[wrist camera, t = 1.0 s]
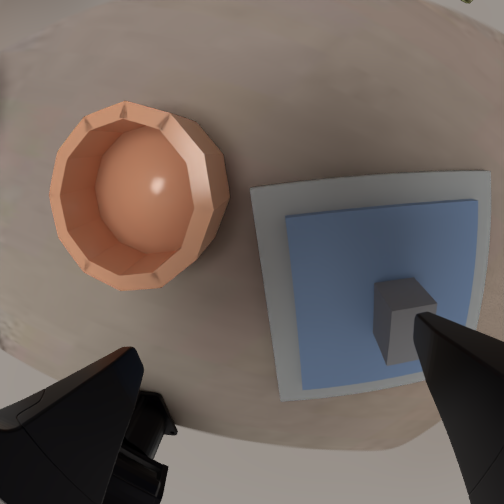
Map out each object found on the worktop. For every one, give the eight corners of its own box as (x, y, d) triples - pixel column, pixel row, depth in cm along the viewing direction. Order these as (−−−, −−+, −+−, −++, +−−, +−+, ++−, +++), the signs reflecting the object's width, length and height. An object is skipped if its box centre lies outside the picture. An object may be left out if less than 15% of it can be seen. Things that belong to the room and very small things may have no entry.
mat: (461, 363, 23) (465, 369, 22) (280, 393, 25) (280, 401, 24) (483, 169, 17) (490, 171, 16) (251, 187, 20) (249, 188, 19)
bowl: (239, 253, 22) (227, 282, 17) (109, 268, 23) (75, 293, 18) (214, 97, 18) (193, 80, 14) (82, 136, 20) (40, 136, 15)
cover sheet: (453, 357, 21) (475, 390, 17) (302, 383, 23) (303, 426, 19) (472, 198, 17) (511, 212, 13) (285, 215, 19) (285, 234, 15)
